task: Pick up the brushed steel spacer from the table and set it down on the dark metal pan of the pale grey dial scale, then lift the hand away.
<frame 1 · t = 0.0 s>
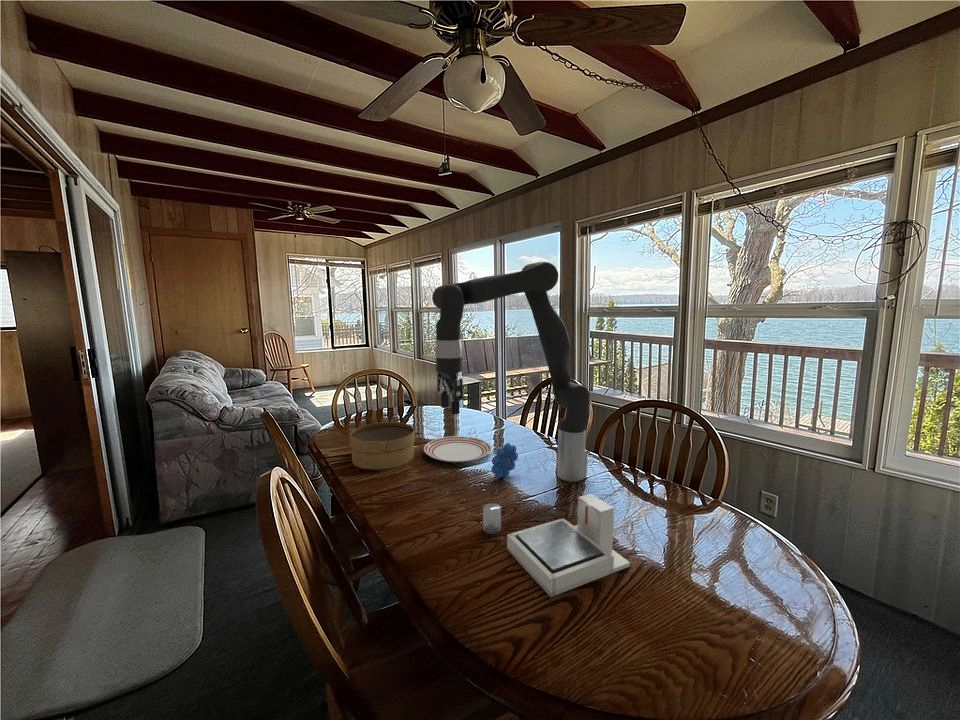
hand: (449, 410, 116), 29 cm above the table, tool pointing down, fingers open, 8 cm apart
scale: (566, 557, 94), on the table
steel spacer: (492, 528, 107), on the table
grapes: (503, 476, 140), on the table
steamer basket: (383, 458, 159), on the table
dinner plate: (457, 454, 162), on the table
scale pan: (558, 545, 93), point 4 cm above the table, slide at -0.5 cm
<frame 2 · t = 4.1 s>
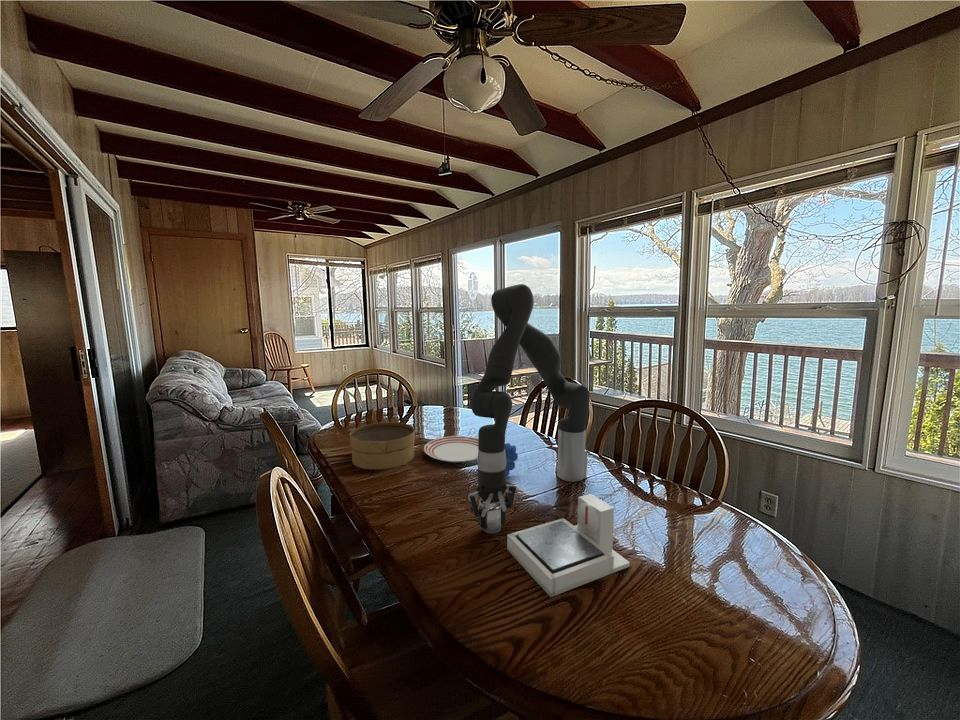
hand: (491, 525, 107), 1 cm above the table, tool pointing down, fingers closed on steel spacer, 4 cm apart
steel spacer: (492, 528, 107), on the table, touching gripper
everything else where it was.
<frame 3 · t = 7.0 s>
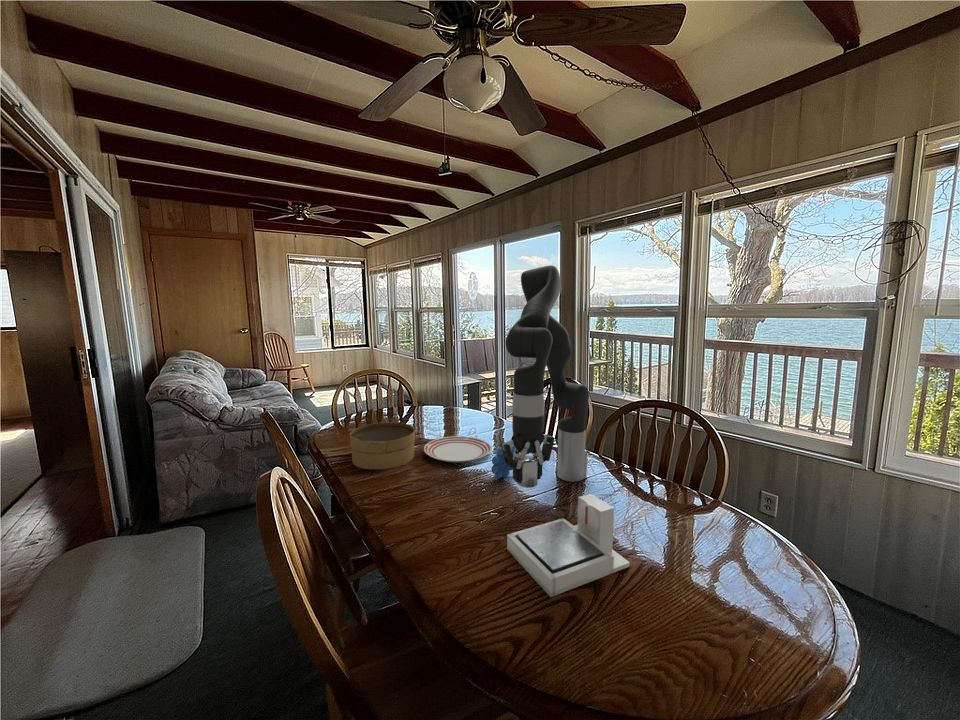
hand: (527, 479, 96), 18 cm above the table, tool pointing down, fingers closed on steel spacer, 4 cm apart
steel spacer: (527, 483, 97), point 17 cm above the table, touching gripper
everything else where it was.
when the fingers open (7 cm above the table, at t = 10.4 s): steel spacer drops 2 cm, resting on scale pan.
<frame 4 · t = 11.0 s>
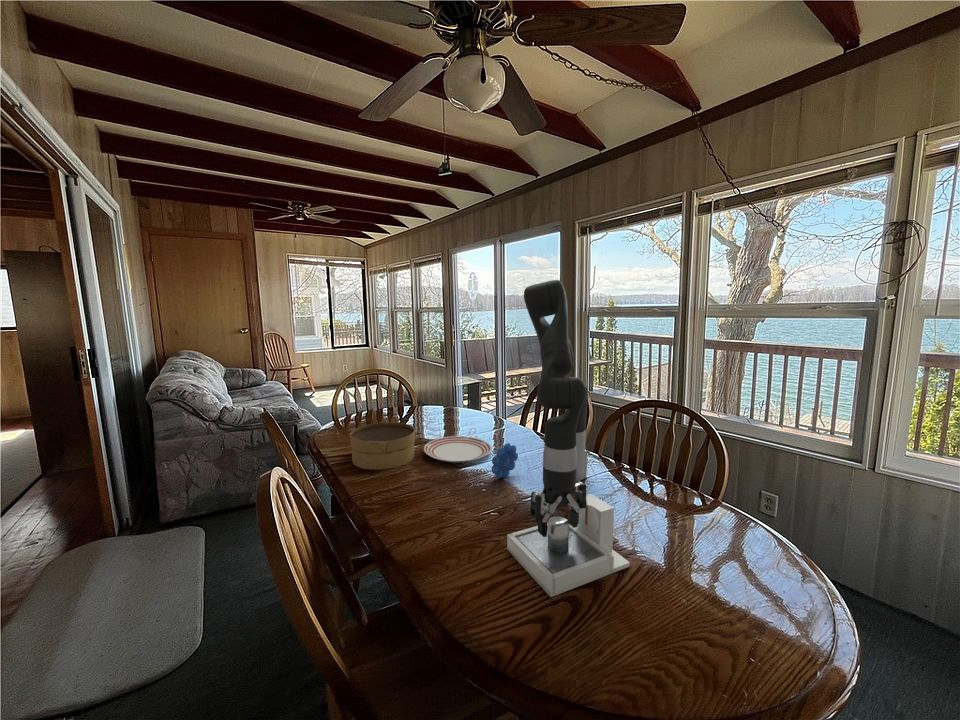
hand: (558, 530, 92), 8 cm above the table, tool pointing down, fingers open, 8 cm apart
steel spacer: (558, 545, 93), point 4 cm above the table, touching scale pan
scale pan: (557, 548, 93), point 3 cm above the table, slide at -1.3 cm, touching steel spacer
everything else where it was.
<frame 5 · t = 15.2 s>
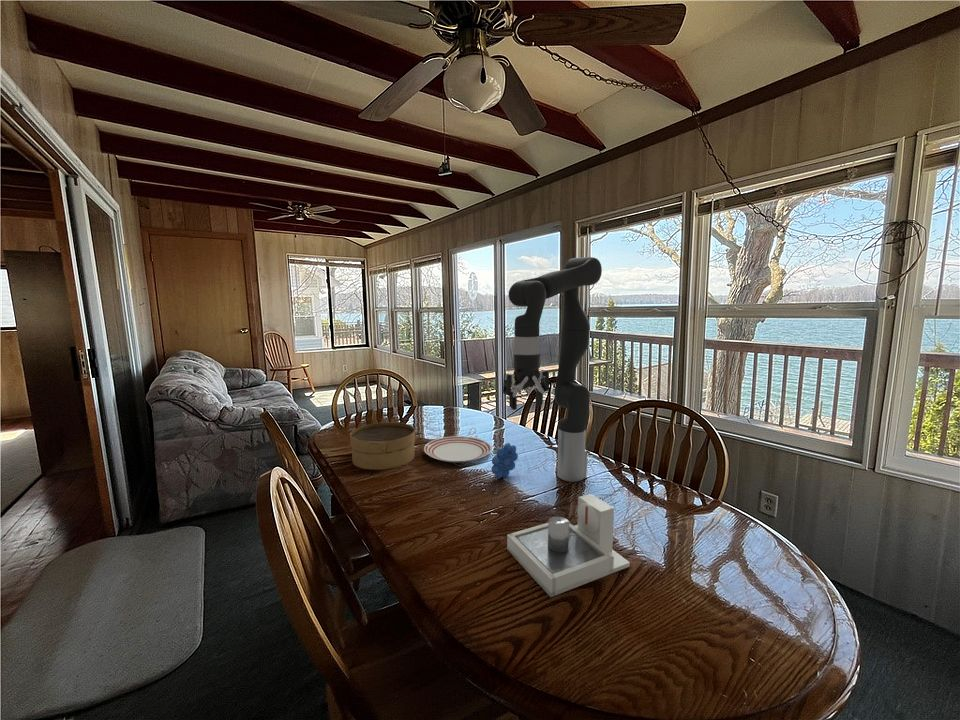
hand: (526, 407, 116), 30 cm above the table, tool pointing down, fingers open, 8 cm apart
nothing on the table moved.
at the end: steel spacer inside the target area on the scale (0.1 cm from its centre), point 3.7 cm above the scale's base; steel spacer touching scale pan; steel spacer tilted 1° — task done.
